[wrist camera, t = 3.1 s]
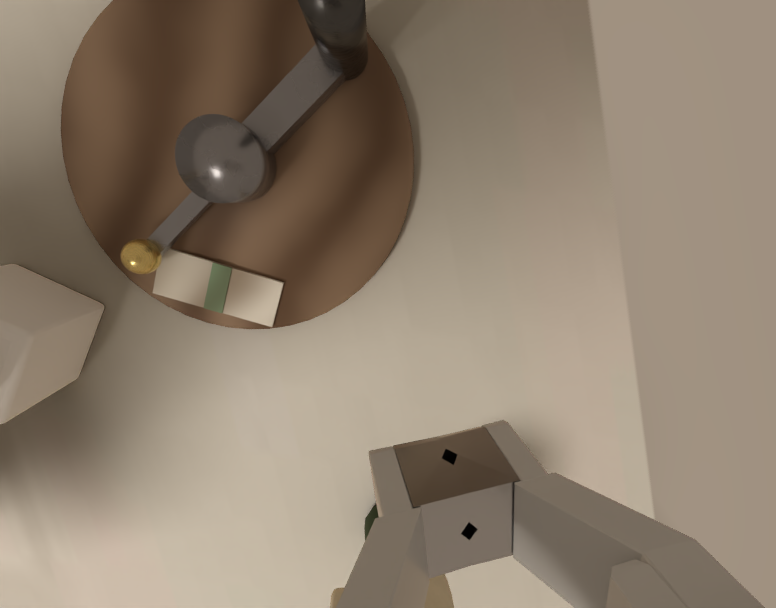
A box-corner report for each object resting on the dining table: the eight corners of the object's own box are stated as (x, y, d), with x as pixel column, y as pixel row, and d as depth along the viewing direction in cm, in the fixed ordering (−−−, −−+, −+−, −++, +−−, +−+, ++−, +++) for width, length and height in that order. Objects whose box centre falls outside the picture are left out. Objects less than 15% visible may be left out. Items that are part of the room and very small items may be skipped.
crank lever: (126, 250, 29) (17, 274, 20) (318, -8, 25) (286, -117, 16) (184, 295, 30) (104, 336, 21) (378, 53, 26) (378, -18, 17)
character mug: (330, 535, 37) (307, 708, 25) (353, 472, 35) (339, 624, 23) (440, 561, 38) (471, 740, 26) (467, 502, 37) (514, 662, 24)
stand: (53, 274, 30) (40, 277, 29) (92, -96, 24) (78, -111, 23) (358, 360, 33) (357, 367, 31) (460, 43, 27) (464, 36, 26)
